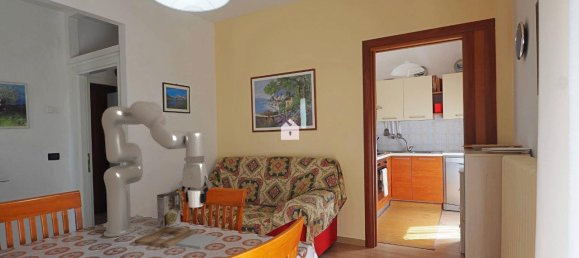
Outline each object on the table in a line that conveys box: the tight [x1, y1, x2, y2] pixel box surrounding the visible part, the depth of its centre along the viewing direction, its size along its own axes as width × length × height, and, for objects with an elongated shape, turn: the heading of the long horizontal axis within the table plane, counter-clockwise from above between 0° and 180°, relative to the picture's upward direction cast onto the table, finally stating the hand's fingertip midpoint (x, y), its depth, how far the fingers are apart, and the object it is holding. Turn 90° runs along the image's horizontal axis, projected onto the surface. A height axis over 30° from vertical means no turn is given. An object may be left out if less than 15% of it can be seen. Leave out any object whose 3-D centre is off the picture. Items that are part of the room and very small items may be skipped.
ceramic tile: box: [175, 233, 218, 249], centre depth 124 cm, size 12×12×1 cm
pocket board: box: [134, 226, 198, 249], centre depth 129 cm, size 18×18×2 cm
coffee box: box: [156, 191, 181, 229], centre depth 147 cm, size 9×6×16 cm
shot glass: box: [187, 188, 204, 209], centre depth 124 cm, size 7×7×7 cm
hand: (196, 201), depth 124 cm, fingers closed on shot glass, 6 cm apart
